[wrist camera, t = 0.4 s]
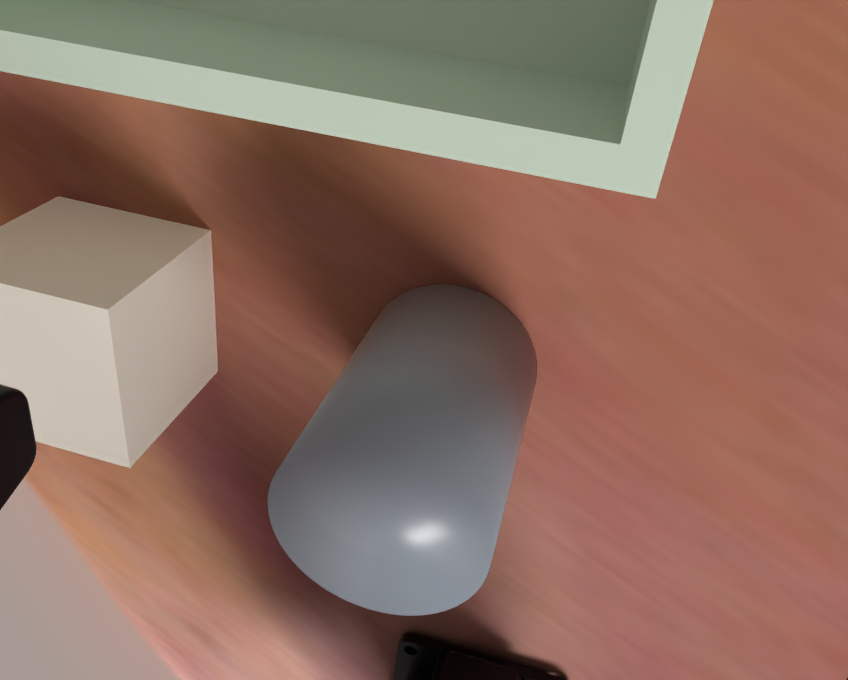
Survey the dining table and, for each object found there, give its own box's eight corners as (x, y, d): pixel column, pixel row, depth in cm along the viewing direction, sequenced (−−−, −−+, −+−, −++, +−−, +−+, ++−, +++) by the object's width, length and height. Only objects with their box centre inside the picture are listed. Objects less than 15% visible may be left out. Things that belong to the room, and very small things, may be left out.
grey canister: (520, 448, 23) (473, 640, 17) (363, 408, 23) (267, 578, 18) (553, 306, 20) (510, 477, 14) (375, 266, 21) (266, 413, 15)
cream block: (219, 369, 24) (130, 467, 20) (83, 334, 25) (-30, 422, 21) (212, 229, 22) (107, 309, 18) (60, 195, 22) (-75, 264, 18)
